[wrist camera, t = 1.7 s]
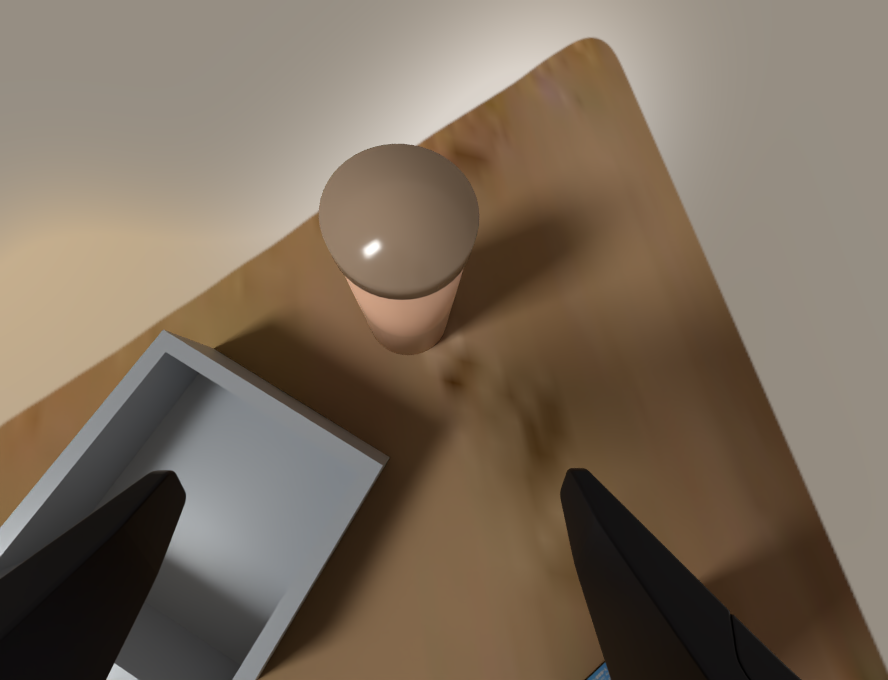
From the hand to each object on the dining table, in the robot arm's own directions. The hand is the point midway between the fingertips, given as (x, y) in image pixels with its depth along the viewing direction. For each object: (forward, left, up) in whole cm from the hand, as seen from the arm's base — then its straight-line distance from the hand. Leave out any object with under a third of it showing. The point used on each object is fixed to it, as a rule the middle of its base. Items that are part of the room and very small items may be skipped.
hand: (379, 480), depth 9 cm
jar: (+4, -7, -14) cm, 16 cm away
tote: (+7, +7, -14) cm, 17 cm away
